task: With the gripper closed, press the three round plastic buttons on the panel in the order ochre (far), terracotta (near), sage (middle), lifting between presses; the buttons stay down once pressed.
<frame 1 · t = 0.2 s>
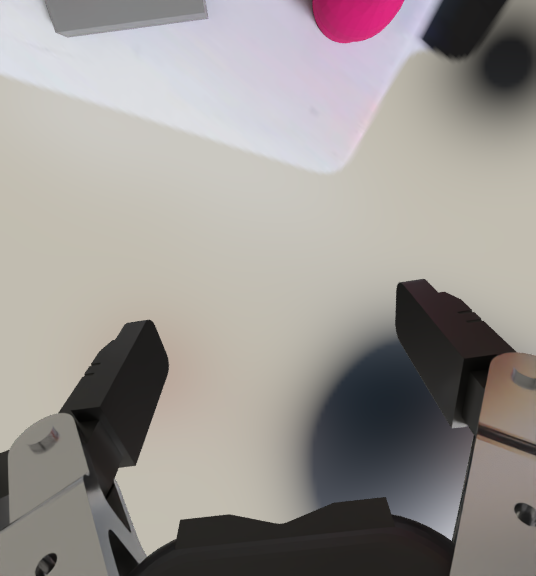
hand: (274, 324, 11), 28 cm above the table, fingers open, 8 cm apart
pepper mill: (346, 0, 29), on the table
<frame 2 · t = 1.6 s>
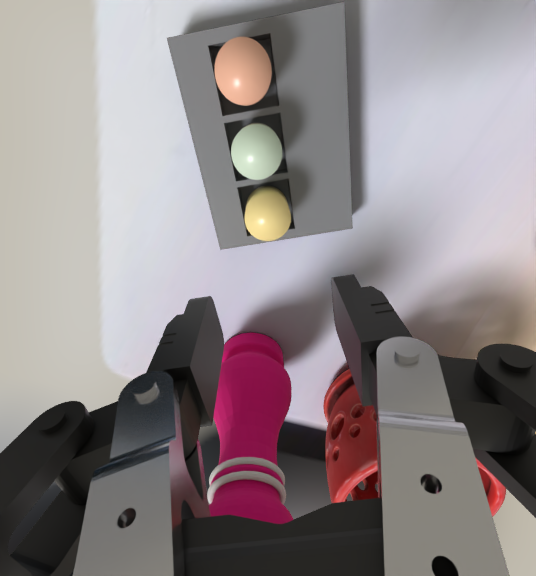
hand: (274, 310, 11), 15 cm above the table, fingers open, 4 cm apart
plant pot: (371, 388, 35), on the table
panel: (271, 143, 23), on the table
pepper mill: (251, 355, 32), on the table
terracotta button: (244, 75, 18), point 3 cm above the table, slide at 0.0 cm
sage button: (256, 150, 20), point 3 cm above the table, slide at 0.0 cm
ochre button: (267, 212, 22), point 3 cm above the table, slide at 0.0 cm
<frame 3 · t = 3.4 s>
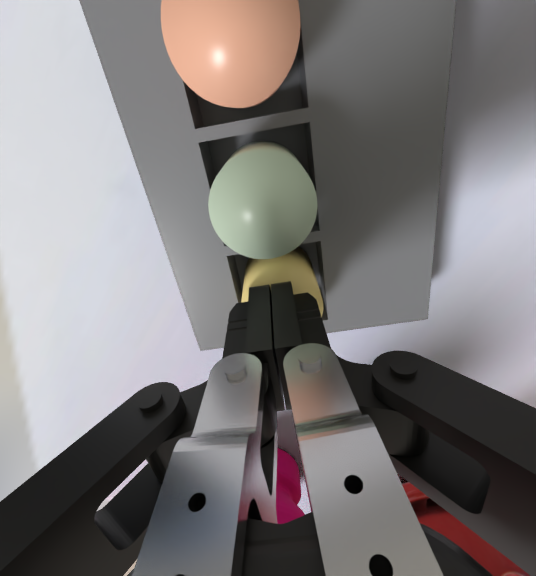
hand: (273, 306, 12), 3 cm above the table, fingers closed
plant pot: (422, 504, 25), on the table
panel: (288, 174, 13), on the table
pepper mill: (253, 467, 22), on the table
terracotta button: (236, 41, 8), point 3 cm above the table, slide at 0.0 cm
sage button: (263, 196, 10), point 3 cm above the table, slide at 0.0 cm
ochre button: (280, 289, 13), point 2 cm above the table, slide at 1.0 cm, touching gripper
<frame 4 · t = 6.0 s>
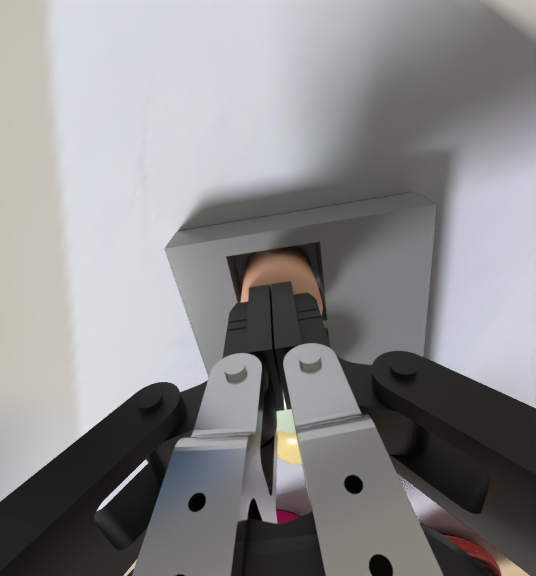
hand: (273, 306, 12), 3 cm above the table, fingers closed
plant pot: (416, 553, 29), on the table
panel: (308, 335, 17), on the table
terracotta button: (279, 290, 13), point 2 cm above the table, slide at 1.0 cm, touching gripper
sage button: (293, 380, 14), point 3 cm above the table, slide at 0.0 cm
ochre button: (301, 420, 17), point 2 cm above the table, slide at 1.1 cm
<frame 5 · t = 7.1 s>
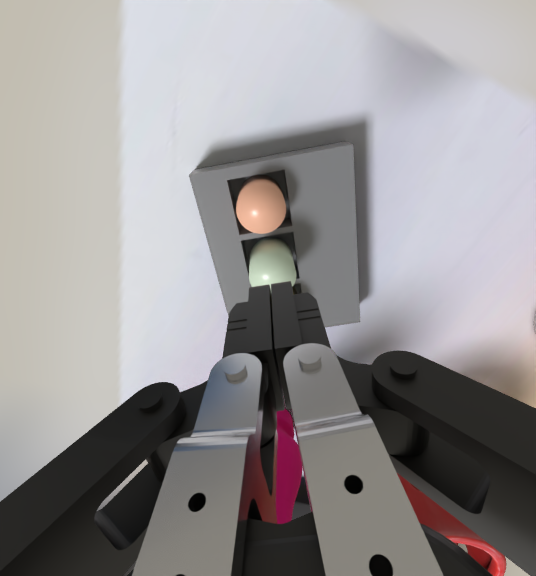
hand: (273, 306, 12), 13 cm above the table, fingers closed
plant pot: (377, 445, 37), on the table
panel: (283, 247, 24), on the table
pepper mill: (262, 420, 34), on the table
terracotta button: (260, 203, 21), point 2 cm above the table, slide at 1.1 cm
sage button: (271, 266, 22), point 3 cm above the table, slide at 0.0 cm
ochre button: (279, 306, 25), point 2 cm above the table, slide at 1.1 cm
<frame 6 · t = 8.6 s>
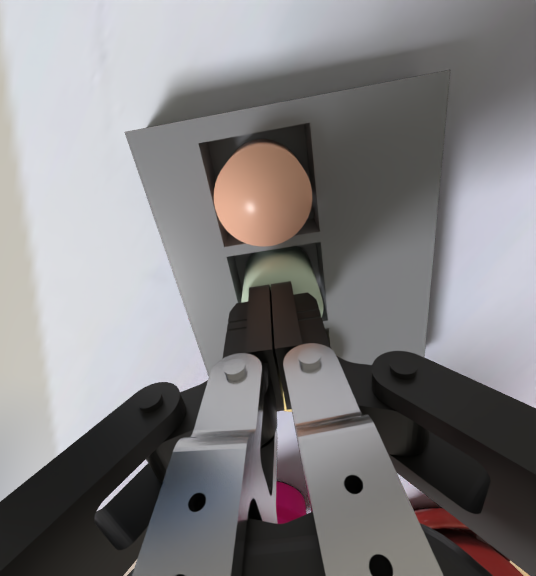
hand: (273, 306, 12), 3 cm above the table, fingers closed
plant pot: (419, 531, 27), on the table
panel: (300, 265, 15), on the table
pepper mill: (263, 500, 24), on the table
terracotta button: (263, 189, 11), point 2 cm above the table, slide at 1.1 cm
sage button: (280, 290, 13), point 2 cm above the table, slide at 1.0 cm, touching gripper
ochre button: (292, 363, 15), point 2 cm above the table, slide at 1.1 cm
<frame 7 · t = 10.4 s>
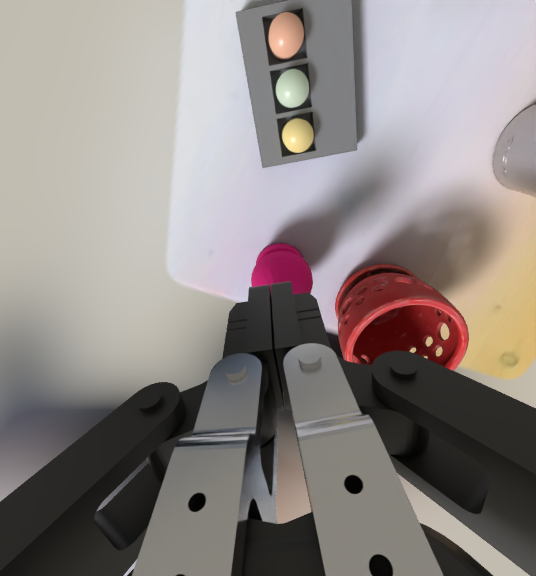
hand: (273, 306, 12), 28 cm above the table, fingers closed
plant pot: (372, 295, 45), on the table
panel: (299, 88, 32), on the table
pepper mill: (279, 264, 42), on the table
terracotta button: (285, 38, 29), point 2 cm above the table, slide at 1.1 cm
sage button: (291, 89, 31), point 2 cm above the table, slide at 1.1 cm
ochre button: (296, 135, 33), point 2 cm above the table, slide at 1.1 cm
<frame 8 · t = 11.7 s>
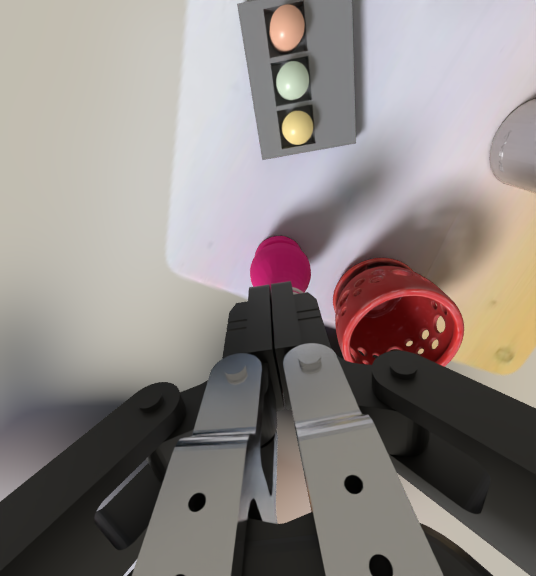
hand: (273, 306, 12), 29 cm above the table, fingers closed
plant pot: (370, 289, 45), on the table
panel: (299, 81, 33), on the table
pepper mill: (278, 257, 42), on the table
terracotta button: (286, 30, 29), point 2 cm above the table, slide at 1.1 cm
sage button: (291, 82, 31), point 2 cm above the table, slide at 1.1 cm
ochre button: (296, 127, 33), point 2 cm above the table, slide at 1.1 cm
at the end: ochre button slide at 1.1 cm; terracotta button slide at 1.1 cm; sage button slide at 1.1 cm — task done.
